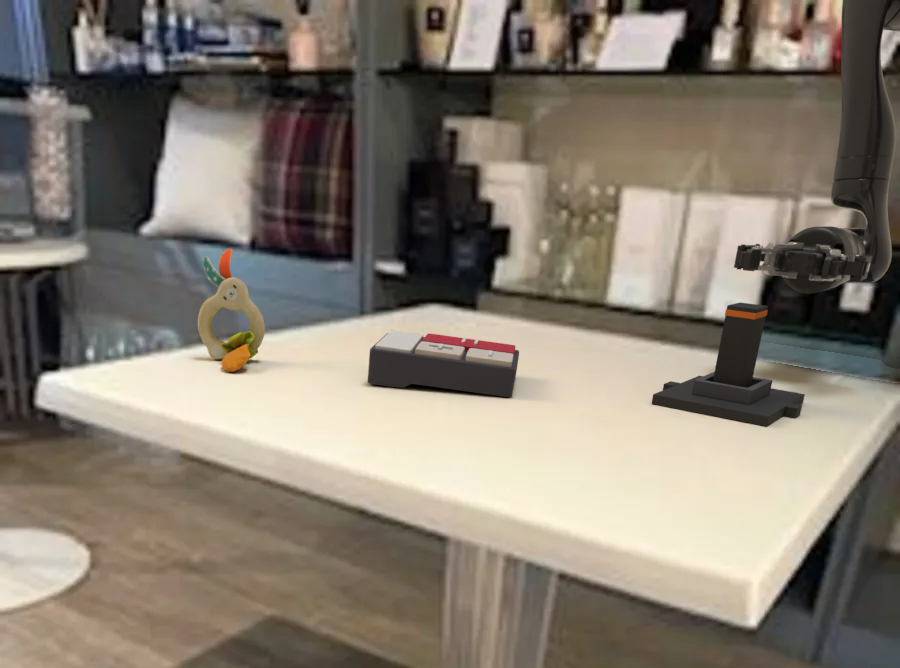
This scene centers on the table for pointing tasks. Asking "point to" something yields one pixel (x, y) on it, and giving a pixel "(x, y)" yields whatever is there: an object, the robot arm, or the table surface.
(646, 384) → the table surface
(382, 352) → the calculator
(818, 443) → the table surface
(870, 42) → the robot arm
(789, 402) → the base pad
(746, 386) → the dark grey block
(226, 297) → the rattle
